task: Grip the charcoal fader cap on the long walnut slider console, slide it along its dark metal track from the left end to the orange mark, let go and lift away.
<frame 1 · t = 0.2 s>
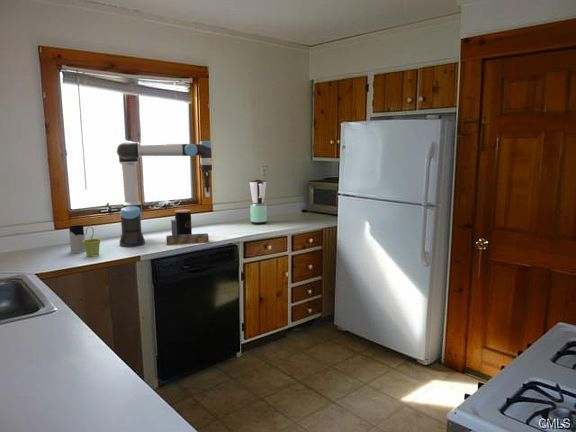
hand: (207, 196, 297), 28 cm above the counter, tool pointing down, fingers open, 13 cm apart
coffee jar: (183, 236, 301), on the counter
plant pot: (93, 255, 248), on the counter
fader: (174, 229, 278), point 9 cm above the counter, slide at 0.0 cm
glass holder: (83, 250, 260), on the counter
mint green blender: (258, 223, 349), on the counter
slider console: (187, 242, 281), on the counter
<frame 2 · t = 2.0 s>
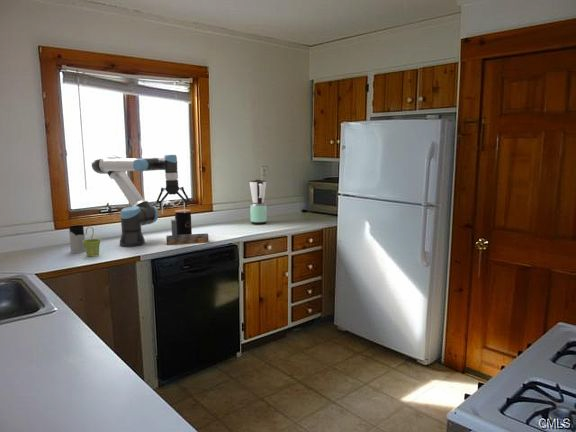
hand: (173, 213, 277), 19 cm above the counter, tool pointing down, fingers open, 13 cm apart
nothing on the counter moved.
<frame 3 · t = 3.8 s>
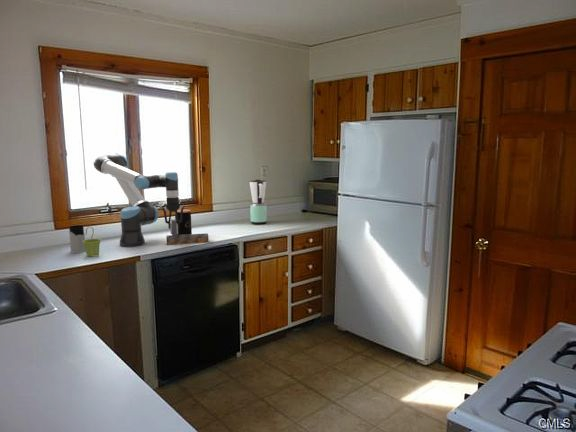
hand: (174, 233, 279), 6 cm above the counter, tool pointing down, fingers closed on fader, 3 cm apart
fader: (174, 229, 278), point 9 cm above the counter, slide at 0.0 cm, touching gripper
everything else where it was.
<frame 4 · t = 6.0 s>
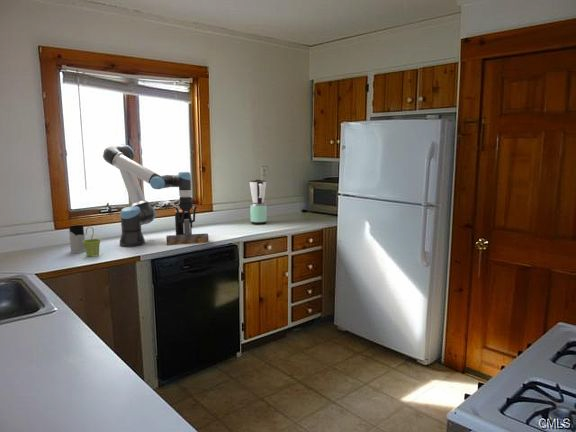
hand: (187, 232, 281), 6 cm above the counter, tool pointing down, fingers closed on fader, 3 cm apart
fader: (186, 228, 280), point 9 cm above the counter, slide at 7.9 cm, touching gripper
everything else where it was.
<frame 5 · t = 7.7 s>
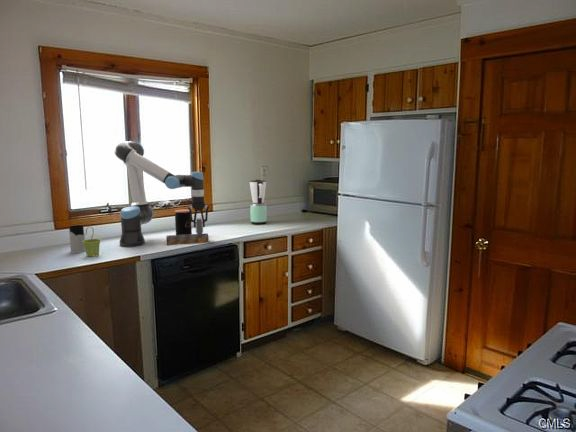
hand: (199, 232, 282), 6 cm above the counter, tool pointing down, fingers closed on fader, 3 cm apart
fader: (199, 227, 282), point 9 cm above the counter, slide at 15.7 cm, touching gripper
everything else where it was.
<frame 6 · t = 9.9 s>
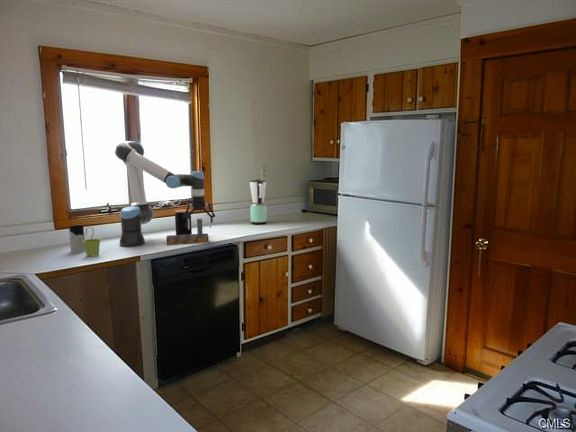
hand: (199, 228, 282), 9 cm above the counter, tool pointing down, fingers open, 13 cm apart
fader: (199, 227, 282), point 9 cm above the counter, slide at 16.0 cm
everything else where it was.
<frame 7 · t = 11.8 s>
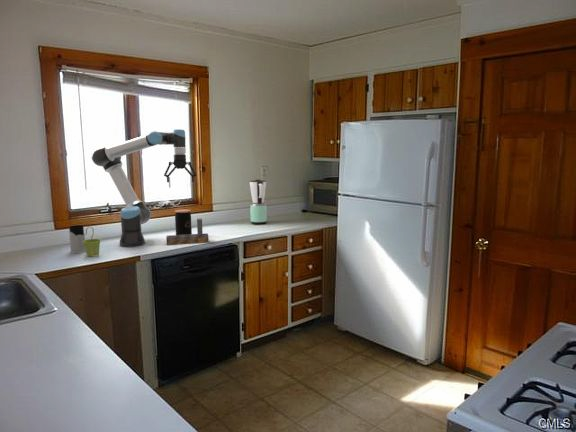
hand: (180, 187, 283), 35 cm above the counter, tool pointing down, fingers open, 13 cm apart
nothing on the counter moved.
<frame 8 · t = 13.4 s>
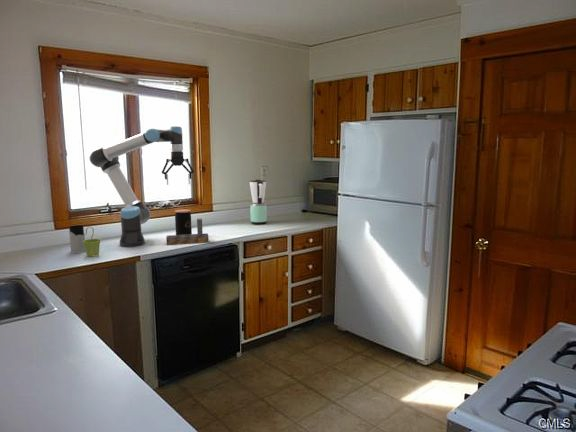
hand: (178, 184, 283), 37 cm above the counter, tool pointing down, fingers open, 13 cm apart
nothing on the counter moved.
at the end: fader slide at 16.0 cm; the gripper is holding nothing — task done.
